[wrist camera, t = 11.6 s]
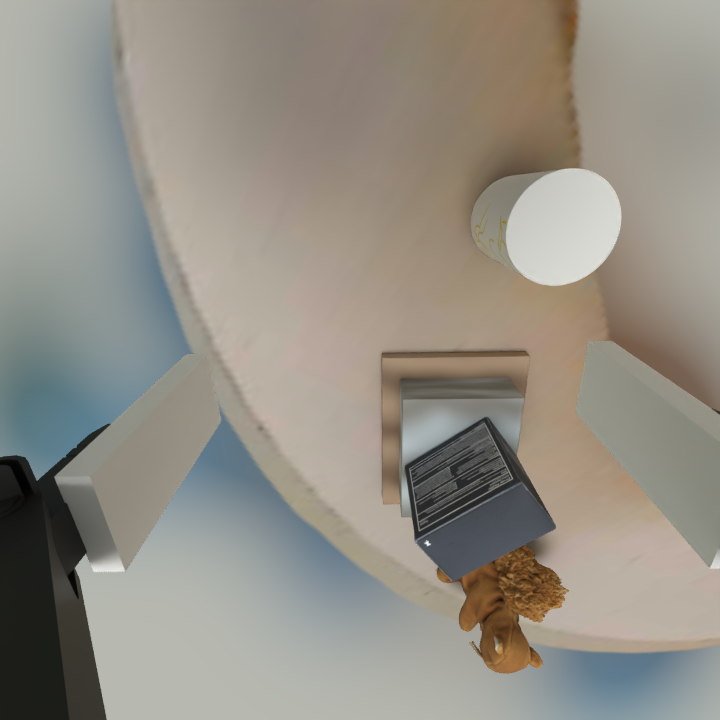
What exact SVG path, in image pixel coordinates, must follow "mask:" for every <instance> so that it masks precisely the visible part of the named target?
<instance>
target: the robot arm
mask: <svg viewBox="0 0 720 720" xmlns="http://www.w3.org/2000/svg"><path fill="white" fill-rule="evenodd" d="M576 414H577V415H578V416H579V417H580V418H581V419H582V421H583V422H584V423H585V424H586V425H587V426H588V428H589V429H590V430H591V431H592V432H593V433H594V435H595V436H596V437H597V438H598V439H599V440H600V441H601V443H602V444H603V445H604V446H605V447H606V448H607V450H608V451H609V452H610V453H611V454H612V455H613V457H614V458H615V459H616V460H617V461H618V462H619V464H620V465H621V466H622V467H623V468H624V469H625V470H626V472H627V473H628V474H629V475H630V476H631V477H632V479H633V480H634V481H635V482H636V483H637V484H638V486H639V487H640V488H641V489H642V490H643V491H644V493H645V494H646V495H647V496H648V497H649V498H650V499H651V501H652V502H653V503H654V504H655V505H656V506H657V508H658V509H659V510H660V511H661V512H662V513H663V515H664V516H665V517H666V518H667V519H668V520H669V522H670V523H671V524H672V525H673V526H674V527H675V528H676V530H677V531H678V532H679V533H680V534H681V535H682V537H683V538H684V539H685V540H686V541H687V542H688V544H689V545H690V546H691V547H692V548H693V549H694V551H695V552H696V553H697V554H698V555H699V556H700V557H701V559H702V560H703V561H704V562H705V563H706V564H707V566H708V567H709V568H710V569H718V568H720V412H719V411H717V410H715V409H711V408H709V407H708V406H706V405H705V404H703V403H702V402H700V401H699V400H698V399H696V398H694V397H693V396H691V395H690V394H689V393H687V392H686V391H684V390H683V389H681V388H680V387H678V386H677V385H675V384H674V383H673V382H671V381H670V380H668V379H667V378H665V377H664V376H662V375H661V374H659V373H658V372H656V371H655V370H653V369H652V368H650V367H649V366H648V365H646V364H645V363H643V362H641V361H640V360H639V359H637V358H636V357H634V356H633V355H631V354H630V353H628V352H627V351H625V350H624V349H623V348H621V347H620V346H618V345H617V344H615V343H614V342H612V341H600V342H588V347H587V353H586V358H585V364H584V369H583V375H582V380H581V386H580V391H579V397H578V402H577V408H576ZM220 422H221V417H220V412H219V407H218V402H217V397H216V392H215V388H214V383H213V378H212V373H211V368H210V363H209V359H208V354H188V355H185V356H184V357H183V358H182V359H181V360H180V361H179V362H178V363H176V364H175V365H174V366H173V367H172V368H171V369H170V370H169V371H168V372H167V373H166V374H165V375H164V376H162V378H160V379H159V380H158V381H157V382H156V383H155V384H154V385H153V386H152V387H151V388H149V389H148V390H147V391H146V392H145V393H144V394H143V395H142V396H141V397H140V398H139V399H138V400H137V401H135V402H134V403H133V404H132V405H131V406H130V407H129V408H128V409H127V410H126V411H125V412H124V413H123V414H122V415H120V416H119V417H118V418H117V419H116V420H115V421H114V422H113V423H112V424H107V425H105V426H103V427H101V428H100V429H98V430H96V431H94V432H92V433H91V434H89V435H88V436H87V437H86V438H85V439H84V440H83V441H81V442H80V443H79V444H78V445H77V448H74V449H72V450H71V451H70V452H69V453H68V454H67V455H66V457H65V458H62V459H61V460H60V461H59V462H58V463H57V464H56V465H54V467H52V468H51V469H50V470H49V471H48V472H47V473H45V475H43V476H42V477H41V478H40V479H39V480H38V481H36V478H35V476H34V474H33V472H32V469H31V467H30V465H29V462H28V461H27V460H26V458H25V457H21V456H17V455H16V456H4V457H0V720H107V719H106V714H105V709H104V704H103V698H102V693H101V688H100V683H99V678H98V672H97V668H96V662H95V657H94V652H93V647H92V641H91V637H90V631H89V626H88V621H87V616H86V610H85V605H84V600H83V595H82V590H81V585H80V579H79V576H78V574H77V572H76V570H75V567H76V565H77V564H78V563H79V561H80V560H81V559H82V558H83V556H84V555H85V554H86V555H87V557H88V560H89V562H90V564H91V567H92V569H93V572H125V571H126V570H127V568H128V566H129V565H130V563H131V562H132V560H133V559H134V557H135V556H136V554H137V552H138V551H139V550H140V548H141V546H142V545H143V543H144V541H145V540H146V539H147V537H148V535H149V534H150V532H151V530H152V529H153V528H154V526H155V524H156V523H157V521H158V520H159V518H160V517H161V515H162V513H163V512H164V510H165V509H166V507H167V506H168V504H169V502H170V501H171V499H172V498H173V496H174V495H175V493H176V491H177V490H178V488H179V487H180V485H181V484H182V482H183V480H184V479H185V477H186V475H187V474H188V473H189V471H190V469H191V468H192V466H193V465H194V463H195V462H196V460H197V458H198V457H199V455H200V454H201V452H202V451H203V449H204V447H205V446H206V444H207V443H208V441H209V440H210V438H211V436H212V435H213V433H214V432H215V430H216V428H217V427H218V425H219V424H220Z"/></svg>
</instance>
